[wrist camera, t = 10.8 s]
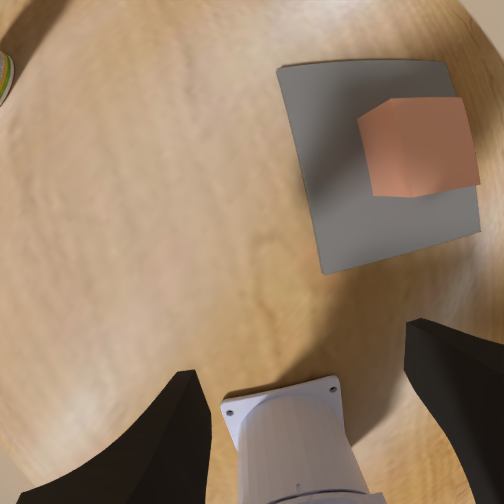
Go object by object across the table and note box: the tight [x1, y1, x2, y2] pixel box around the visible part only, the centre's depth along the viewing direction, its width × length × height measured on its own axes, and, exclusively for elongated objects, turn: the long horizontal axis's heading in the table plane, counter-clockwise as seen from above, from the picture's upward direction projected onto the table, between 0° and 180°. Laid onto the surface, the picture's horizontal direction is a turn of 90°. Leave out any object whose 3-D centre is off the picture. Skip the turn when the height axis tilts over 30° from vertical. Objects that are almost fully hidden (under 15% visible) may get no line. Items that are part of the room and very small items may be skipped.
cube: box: [357, 97, 480, 197], centre depth 14 cm, size 4×4×4 cm
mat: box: [276, 60, 481, 275], centre depth 17 cm, size 12×12×1 cm
